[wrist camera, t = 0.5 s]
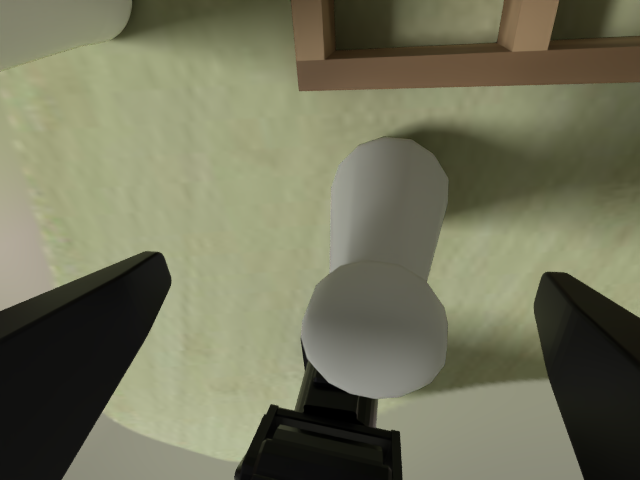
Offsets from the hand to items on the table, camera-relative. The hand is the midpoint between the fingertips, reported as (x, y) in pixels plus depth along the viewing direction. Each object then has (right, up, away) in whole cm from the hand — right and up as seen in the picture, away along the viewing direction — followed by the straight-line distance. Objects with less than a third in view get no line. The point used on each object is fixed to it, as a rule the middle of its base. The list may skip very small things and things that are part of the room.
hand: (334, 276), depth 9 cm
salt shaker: (+4, +5, +12) cm, 13 cm away
